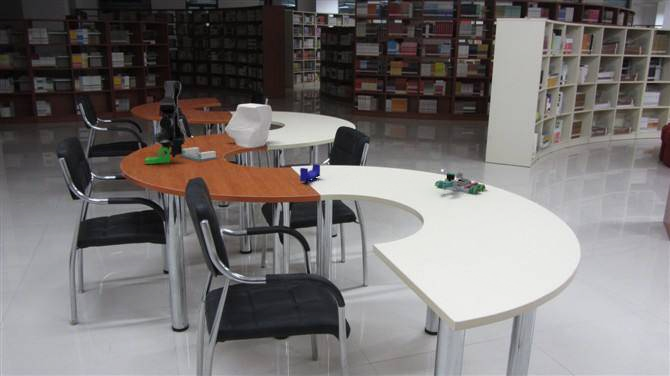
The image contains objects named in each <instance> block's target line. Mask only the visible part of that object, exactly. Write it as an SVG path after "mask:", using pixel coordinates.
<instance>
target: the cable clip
mask: <svg viewBox="0 0 670 376" xmlns="http://www.w3.org/2000/svg"><path fill="white" fill-rule="evenodd" d="M299 171H300V173H299V174H300V175H299V178H300V180H299V182H301V181H305V182H304V183H307V182H306V181H308V180H311V179H314V178H316V177H318V176H320V177H321V165H320V164H317V163H314V164H312V169H310V170H309V169H308V168H305V167H301V168H299ZM314 180H315V179H314ZM311 181H312V180H311ZM308 182H309V181H308Z"/></svg>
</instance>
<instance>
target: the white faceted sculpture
mask: <svg viewBox="0 0 670 376" xmlns="http://www.w3.org/2000/svg"><path fill="white" fill-rule="evenodd" d="M272 118H273V110H272V106H270V104H261V103H241V104H238V105H237V107H236V110H235V113H234V114H232V116H231V119H230V120H229V121H228V124H227V125H226V126H225V127H224V132H226V134H227V135H228V136H229V137H230V138H231V139H232V138H233V139H234V141H235V145H236V146H239V147H242V148H246V149H254V148H261V147H264V146H265V144H266V143H267V140H268V139H269V136H270V135H269V134H270V129H271V125H272V124H271V123H272Z"/></svg>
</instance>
